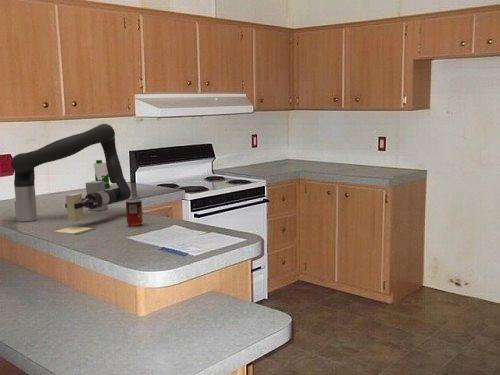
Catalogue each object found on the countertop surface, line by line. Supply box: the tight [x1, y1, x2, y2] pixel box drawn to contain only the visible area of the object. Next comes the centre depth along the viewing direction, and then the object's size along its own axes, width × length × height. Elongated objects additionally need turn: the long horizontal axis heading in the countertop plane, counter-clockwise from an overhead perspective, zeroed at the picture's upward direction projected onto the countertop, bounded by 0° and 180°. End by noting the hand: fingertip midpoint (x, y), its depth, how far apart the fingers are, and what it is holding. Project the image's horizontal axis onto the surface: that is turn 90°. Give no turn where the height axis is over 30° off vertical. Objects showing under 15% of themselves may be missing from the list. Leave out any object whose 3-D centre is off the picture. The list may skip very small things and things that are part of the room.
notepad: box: [54, 225, 96, 235], centre depth 235 cm, size 14×11×1 cm
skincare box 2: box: [84, 180, 109, 212], centre depth 284 cm, size 8×7×16 cm
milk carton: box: [93, 159, 111, 190], centre depth 369 cm, size 9×9×20 cm
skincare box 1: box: [65, 193, 85, 223], centre depth 239 cm, size 6×4×12 cm
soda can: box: [125, 198, 143, 228], centre depth 242 cm, size 7×7×12 cm
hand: (70, 206), depth 237 cm, fingers closed on skincare box 1, 5 cm apart
